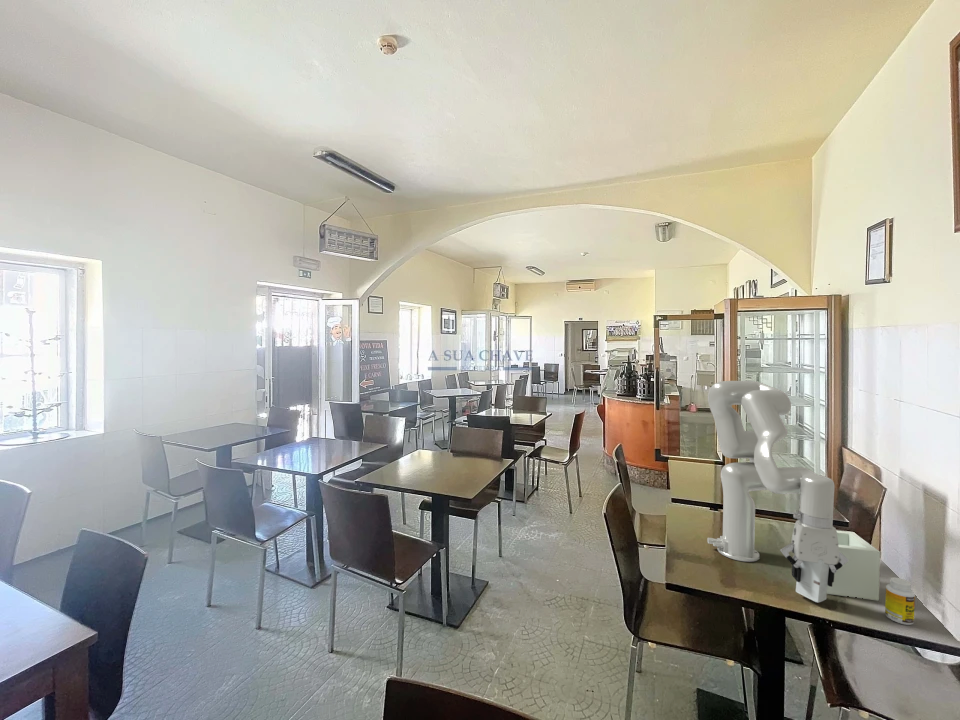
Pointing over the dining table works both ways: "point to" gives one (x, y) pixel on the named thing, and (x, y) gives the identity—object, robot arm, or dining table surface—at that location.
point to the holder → (856, 568)
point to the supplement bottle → (900, 601)
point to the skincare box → (813, 580)
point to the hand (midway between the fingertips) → (812, 581)
